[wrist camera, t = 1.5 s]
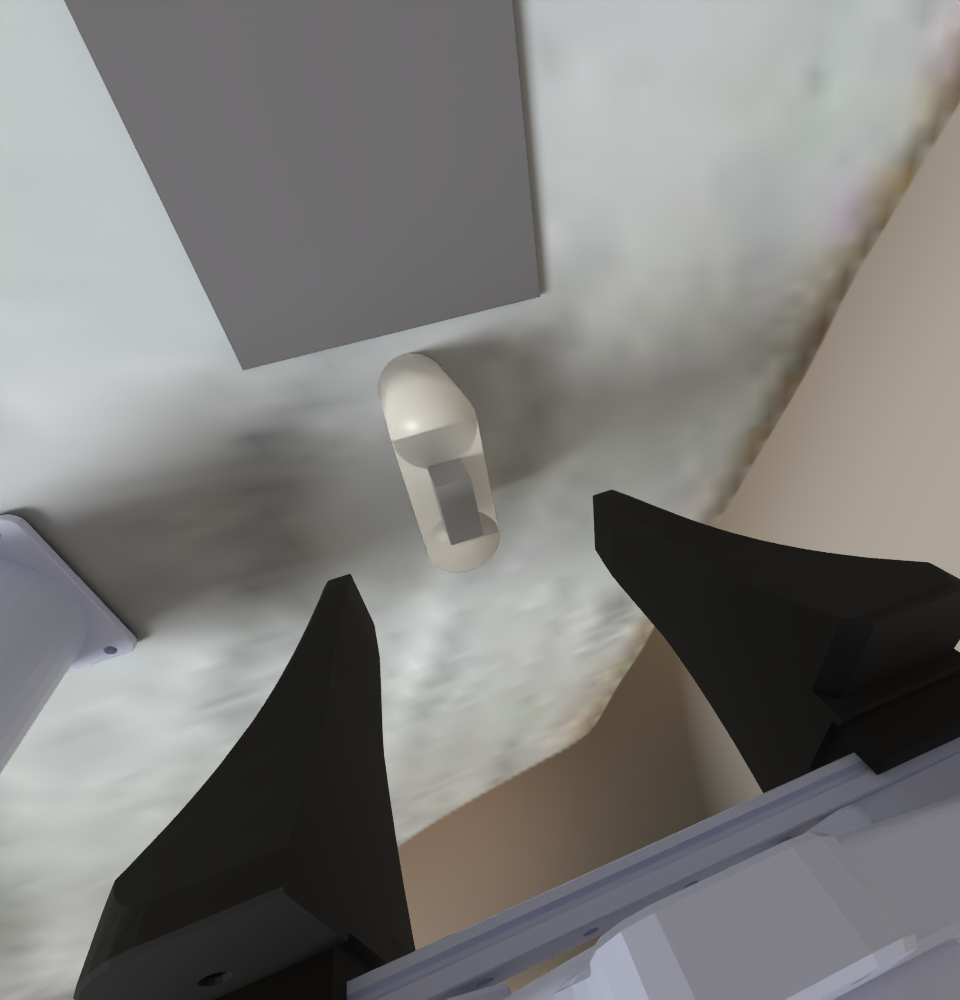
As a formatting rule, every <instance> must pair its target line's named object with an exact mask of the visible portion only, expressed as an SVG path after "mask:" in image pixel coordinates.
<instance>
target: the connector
mask: <svg viewBox="0 0 960 1000" xmlns="http://www.w3.org/2000/svg"><path fill="white" fill-rule="evenodd" d="M378 390H379V396H380V400H381V404H382V408H383V411H384V415H385V419H386V423H387V427H388V430H389V434H390V438H391V442H392V445H393V448H394V451H395V454H396V457H397V460H398V463H399V466H400V470H401V473H402V476H403V479H404V482H405V485H406V488H407V491H408V494H409V497H410V500H411V504H412V507H413V510H414V513H415V516H416V519H417V522H418V525H419V528H420V531H421V534H422V538H423V541H424V544H425V547H426V550H427V553H428V556H429V558H430V560H431V561H432V562H433V564H434V565H436V566H437V567H438V568H440V569H442V570H444V571H448V572H456V573H459V572H466V571H470V570H473V569H475V568H477V567H479V566H481V565H483V564H484V563H485V562H487V561H488V560H489V559H490V558H491V556H492V555H493V554H494V552H495V551H496V549H497V547H498V544H499V536H500V535H499V528H498V523H497V518H496V513H495V508H494V503H493V498H492V493H491V488H490V483H489V478H488V472H487V467H486V462H485V457H484V452H483V447H482V442H481V437H480V432H479V427H478V422H477V417H476V413H475V410H474V408H473V406H472V404H471V403H470V401H469V400H468V399H467V398H466V396H465V395H464V394H463V393H462V392H461V391H460V389H459V388H458V387H457V386H456V385H455V383H454V382H453V381H452V380H451V379H450V378H449V376H448V375H447V374H446V373H445V372H444V371H443V369H442V368H441V367H440V366H439V365H438V364H437V363H436V362H435V361H434V360H433V359H431V358H429V357H427V356H425V355H422V354H416V353H410V354H404V355H401V356H398V357H396V358H395V359H393V360H392V361H391V362H389V363H388V364H387V366H386V367H385V368H384V370H383V371H382V374H381V376H380V379H379V385H378Z"/></svg>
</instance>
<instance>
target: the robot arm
mask: <svg viewBox="0 0 960 1000" xmlns="http://www.w3.org/2000/svg"><path fill="white" fill-rule="evenodd" d="M593 509H594V532H595V550H596V551H597V553H598V554H599V556H600V558H601V559H602V561H603V563H604V564H605V566H606V567H607V569H608V570H609V572H610V573H611V575H612V576H613V577H614V579H615V580H616V581H617V582H618V583H619V585H620V586H621V587H622V588H623V589H624V591H625V592H626V593H627V594H628V595H629V596H630V598H631V599H632V600H633V601H634V602H635V603H636V605H637V606H638V607H639V608H640V609H641V610H642V612H643V613H644V614H645V615H646V616H647V617H648V619H649V620H650V621H651V622H652V623H653V624H654V626H655V627H656V628H657V629H658V630H659V631H660V633H661V634H662V635H663V636H664V637H665V639H666V640H667V641H668V643H669V644H670V645H671V647H672V648H673V650H674V651H675V652H676V654H677V655H678V657H679V658H680V660H681V661H682V663H683V664H684V665H685V667H686V668H687V670H688V671H689V673H690V674H691V676H692V677H693V679H694V680H695V682H696V683H697V684H698V686H699V688H700V689H701V691H702V692H703V694H704V695H705V697H706V698H707V700H708V701H709V703H710V704H711V706H712V708H713V709H714V711H715V712H716V714H717V716H718V717H719V719H720V721H721V722H722V724H723V725H724V727H725V728H726V730H727V731H728V733H729V735H730V737H731V738H732V740H733V742H734V743H735V745H736V746H737V748H738V750H739V752H740V753H741V755H742V757H743V759H744V760H745V762H746V764H747V765H748V767H749V769H750V771H751V772H752V774H753V776H754V778H755V779H756V781H757V783H758V784H759V786H760V788H761V790H762V792H763V794H761V795H759V796H757V797H754V798H752V799H750V800H748V801H746V802H743V803H741V804H739V805H737V806H734V807H733V808H730V809H728V810H726V811H723V812H721V813H719V814H717V815H715V816H712V817H710V818H708V819H706V820H703V821H701V822H699V823H697V824H695V825H692V826H690V827H688V828H686V829H684V830H681V831H679V832H677V833H675V834H673V835H670V836H668V837H666V838H664V839H662V840H659V841H657V842H655V843H653V844H650V845H648V846H646V847H644V848H642V849H639V850H637V851H635V852H633V853H631V854H628V855H626V856H624V857H622V858H620V859H617V860H615V861H613V862H611V863H609V864H606V865H604V866H602V867H600V868H597V869H595V870H593V871H591V872H589V873H586V874H584V875H582V876H580V877H577V878H575V879H573V880H571V881H569V882H566V883H564V884H562V885H560V886H558V887H555V888H553V889H551V890H549V891H547V892H544V893H542V894H540V895H538V896H535V897H533V898H531V899H529V900H527V901H525V902H522V903H520V904H518V905H516V906H513V907H511V908H509V909H507V910H504V911H502V912H500V913H498V914H496V915H494V916H491V917H489V918H487V919H485V920H482V921H480V922H478V923H476V924H474V925H471V926H469V927H467V928H465V929H463V930H460V931H458V932H456V933H454V934H451V935H449V936H447V937H445V938H443V939H440V940H438V941H436V942H434V943H432V944H429V945H427V946H425V947H423V948H421V949H418V950H416V951H415V946H414V941H413V935H412V930H411V924H410V918H409V913H408V907H407V902H406V896H405V890H404V885H403V879H402V873H401V866H400V861H399V854H398V848H397V842H396V836H395V829H394V822H393V816H392V809H391V802H390V795H389V788H388V781H387V773H386V766H385V759H384V748H383V733H382V705H381V677H380V657H379V650H378V644H377V638H376V632H375V626H374V623H373V621H372V619H371V617H370V614H369V612H368V610H367V608H366V606H365V604H364V602H363V599H362V597H361V595H360V593H359V591H358V589H357V587H356V585H355V582H354V580H353V578H352V576H351V574H348V575H345V576H342V577H339V578H335V579H332V580H329V581H328V582H327V584H326V585H325V588H324V590H323V592H322V594H321V597H320V599H319V601H318V604H317V606H316V608H315V610H314V613H313V615H312V617H311V619H310V621H309V624H308V626H307V628H306V630H305V632H304V634H303V636H302V638H301V640H300V642H299V644H298V646H297V648H296V650H295V652H294V654H293V656H292V657H291V659H290V661H289V663H288V665H287V667H286V668H285V670H284V672H283V674H282V676H281V677H280V679H279V681H278V683H277V684H276V686H275V688H274V689H273V691H272V692H271V694H270V696H269V697H268V699H267V700H266V702H265V704H264V705H263V707H262V708H261V710H260V711H259V713H258V714H257V716H256V717H255V719H254V720H253V722H252V723H251V724H250V726H249V727H248V728H247V730H246V731H245V732H244V734H243V735H242V736H241V738H240V739H239V740H238V742H237V743H236V744H235V746H234V747H233V748H232V750H231V751H230V752H229V754H228V755H227V756H226V758H225V759H224V760H223V762H222V763H221V764H220V765H219V767H218V768H217V769H216V770H215V772H214V773H213V774H212V775H211V776H210V778H209V779H208V780H207V781H206V782H205V784H204V785H203V786H202V787H201V788H200V790H199V791H198V792H197V793H196V794H195V795H194V797H193V798H192V799H191V800H190V801H189V802H188V803H187V805H186V806H185V807H184V808H183V809H182V810H181V811H180V813H179V814H178V815H177V816H176V817H175V818H174V819H173V820H172V821H171V823H170V824H169V825H168V826H167V827H166V828H165V829H164V830H163V831H162V832H161V833H160V834H159V835H158V836H157V837H156V838H155V840H154V841H153V842H152V843H151V844H150V845H149V846H148V847H147V848H146V849H145V850H144V851H143V852H142V853H141V854H140V855H139V856H138V857H137V858H136V860H135V861H134V862H133V863H132V864H131V865H130V866H129V867H128V868H127V869H126V870H125V871H124V872H123V873H122V874H121V875H120V876H119V877H118V878H117V879H116V880H115V882H114V884H113V887H112V889H111V892H110V894H109V897H108V899H107V902H106V905H105V907H104V910H103V912H102V915H101V918H100V921H99V923H98V926H97V929H96V932H95V935H94V938H93V940H92V943H91V946H90V949H89V952H88V955H87V957H86V960H85V963H84V966H83V969H82V971H81V974H80V977H79V980H78V983H77V986H76V989H75V993H74V997H73V998H74V1000H960V652H958V651H956V650H955V649H954V647H955V646H956V644H957V643H958V641H959V640H960V579H959V578H957V577H955V576H953V575H951V574H949V573H948V572H945V571H944V570H942V569H940V568H938V567H937V566H934V565H933V564H931V563H928V562H915V561H902V560H890V559H877V558H866V557H857V556H849V555H841V554H833V553H826V552H820V551H813V550H807V549H801V548H796V547H791V546H786V545H780V544H776V543H771V542H766V541H762V540H758V539H753V538H750V537H746V536H742V535H738V534H734V533H731V532H727V531H724V530H720V529H717V528H714V527H711V526H708V525H705V524H702V523H699V522H696V521H693V520H690V519H687V518H685V517H682V516H679V515H676V514H674V513H671V512H668V511H666V510H663V509H661V508H658V507H656V506H653V505H651V504H648V503H646V502H643V501H641V500H638V499H636V498H633V497H631V496H628V495H625V494H623V493H620V492H617V491H614V490H609V491H606V492H603V493H600V494H597V495H594V496H593ZM0 533H1V534H0V773H1V772H2V770H3V769H4V767H5V766H6V764H7V763H8V761H9V760H10V758H11V757H12V755H13V753H14V752H15V750H16V749H17V747H18V746H19V744H20V743H21V741H22V740H23V738H24V737H25V735H26V733H27V732H28V730H29V729H30V727H31V726H32V724H33V723H34V721H35V720H36V718H37V717H38V715H39V713H40V712H41V710H42V709H43V707H44V706H45V704H46V703H47V701H48V700H49V698H50V697H51V695H52V693H53V692H54V690H55V689H56V687H57V686H58V684H59V683H60V681H61V680H62V678H63V677H64V675H65V673H67V672H70V671H73V670H76V669H79V668H83V667H86V666H89V665H92V664H95V663H98V662H101V661H104V660H107V659H110V658H113V657H116V656H120V655H123V654H126V653H129V652H131V651H133V649H134V648H135V646H136V644H137V639H136V637H135V636H134V635H133V634H132V633H131V632H130V631H129V630H128V629H127V628H126V627H125V626H124V624H123V623H122V622H121V621H120V620H119V619H118V618H117V617H116V616H115V615H114V614H113V613H112V612H111V611H110V610H109V609H108V608H107V606H106V605H105V604H104V603H103V602H102V601H101V600H100V599H99V598H98V597H97V596H96V595H95V594H94V593H93V592H92V591H91V590H90V588H89V587H88V586H87V585H86V584H85V583H84V582H83V581H82V580H81V579H80V578H79V577H78V576H77V575H76V574H75V573H74V572H73V570H72V569H71V568H70V567H69V566H68V565H67V564H66V563H65V562H64V561H63V560H62V559H61V558H60V557H59V556H58V555H57V554H56V552H55V551H54V550H53V549H52V548H51V547H50V546H49V545H48V544H47V543H46V542H45V541H44V540H43V539H42V538H41V537H40V536H39V534H38V533H37V532H36V531H35V530H34V529H33V528H32V527H31V526H30V525H29V524H28V523H27V522H26V521H25V520H24V519H22V518H21V517H18V516H16V515H10V514H6V515H0ZM109 646H112V647H115V648H112V647H109ZM605 932H607V933H606V934H604V935H603V936H602V937H601V938H599V940H598V941H597V944H596V945H594V946H593V947H591V948H589V949H587V950H586V951H584V952H582V953H580V954H579V955H577V956H576V957H574V958H572V959H570V960H569V961H567V962H565V963H564V964H562V965H560V966H559V967H557V968H555V969H553V970H552V971H550V972H548V973H547V974H545V975H543V976H542V977H540V978H538V979H537V980H535V981H533V982H531V983H530V984H528V985H526V986H525V987H523V988H522V989H520V990H518V991H516V992H514V993H513V994H511V990H510V987H509V986H508V985H507V984H505V983H501V984H498V983H500V982H502V981H504V980H507V979H509V978H511V977H513V976H515V975H517V974H519V973H521V972H524V971H526V970H528V969H530V968H532V967H534V966H536V965H538V964H540V963H542V962H544V961H546V960H549V959H551V958H553V957H555V956H557V955H559V954H561V953H563V952H565V951H568V950H570V949H572V948H574V947H576V946H578V945H580V944H582V943H584V942H586V941H589V940H591V939H593V938H595V937H597V936H599V935H601V934H603V933H605ZM496 984H497V985H496Z"/></svg>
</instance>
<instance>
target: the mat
mask: <svg viewBox="0 0 960 1000" xmlns="http://www.w3.org/2000/svg"><path fill="white" fill-rule="evenodd" d="M64 1H65V3H66V5H67V7H68V9H69V11H70V13H71V15H72V17H73V19H74V21H75V24H76V26H77V28H78V30H79V32H80V34H81V36H82V38H83V40H84V42H85V44H86V46H87V48H88V50H89V52H90V55H91V57H92V59H93V61H94V63H95V65H96V67H97V69H98V71H99V73H100V75H101V77H102V79H103V81H104V83H105V86H106V88H107V90H108V92H109V94H110V96H111V98H112V100H113V102H114V104H115V106H116V108H117V110H118V112H119V114H120V117H121V119H122V121H123V123H124V125H125V127H126V129H127V131H128V133H129V135H130V137H131V139H132V141H133V143H134V145H135V148H136V150H137V152H138V154H139V156H140V158H141V160H142V162H143V164H144V166H145V168H146V170H147V172H148V174H149V176H150V179H151V181H152V183H153V185H154V187H155V189H156V191H157V193H158V195H159V197H160V199H161V201H162V203H163V205H164V207H165V210H166V212H167V214H168V216H169V218H170V220H171V222H172V224H173V226H174V228H175V230H176V232H177V234H178V236H179V238H180V241H181V243H182V245H183V247H184V249H185V251H186V253H187V255H188V257H189V259H190V261H191V263H192V265H193V267H194V269H195V272H196V274H197V276H198V278H199V280H200V282H201V284H202V286H203V288H204V290H205V292H206V294H207V296H208V298H209V300H210V303H211V305H212V307H213V309H214V311H215V313H216V315H217V317H218V319H219V321H220V323H221V325H222V327H223V329H224V331H225V334H226V336H227V338H228V340H229V342H230V344H231V346H232V348H233V350H234V352H235V354H236V356H237V358H238V360H239V362H240V365H241V367H242V369H243V370H246V369H250V368H254V367H258V366H262V365H266V364H270V363H274V362H278V361H282V360H286V359H290V358H294V357H298V356H302V355H306V354H310V353H314V352H318V351H322V350H326V349H330V348H334V347H338V346H342V345H347V344H351V343H355V342H359V341H363V340H367V339H371V338H375V337H379V336H383V335H387V334H391V333H395V332H399V331H403V330H407V329H411V328H415V327H419V326H423V325H427V324H431V323H435V322H439V321H443V320H447V319H452V318H456V317H460V316H464V315H468V314H472V313H476V312H480V311H484V310H488V309H492V308H496V307H500V306H504V305H508V304H512V303H516V302H520V301H524V300H528V299H532V298H536V297H540V289H539V278H538V267H537V257H536V246H535V236H534V225H533V215H532V204H531V193H530V183H529V172H528V162H527V151H526V141H525V130H524V120H523V109H522V98H521V88H520V77H519V67H518V56H517V46H516V35H515V24H514V14H513V3H512V0H64Z"/></svg>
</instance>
